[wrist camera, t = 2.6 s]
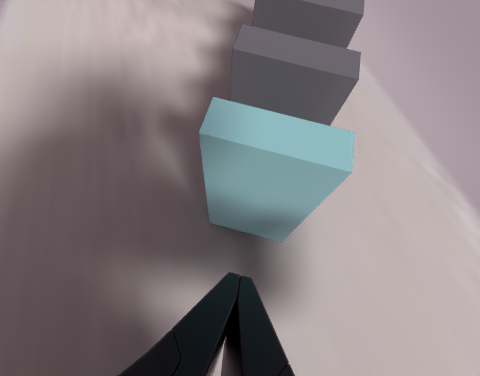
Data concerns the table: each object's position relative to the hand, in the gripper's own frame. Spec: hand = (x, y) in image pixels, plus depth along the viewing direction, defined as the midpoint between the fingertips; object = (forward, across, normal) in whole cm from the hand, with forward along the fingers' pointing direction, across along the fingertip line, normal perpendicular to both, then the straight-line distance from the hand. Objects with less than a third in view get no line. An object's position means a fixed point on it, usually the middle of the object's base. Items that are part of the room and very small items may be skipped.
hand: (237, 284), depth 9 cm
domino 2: (+11, 0, -1) cm, 11 cm away
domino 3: (+8, 0, +2) cm, 9 cm away
